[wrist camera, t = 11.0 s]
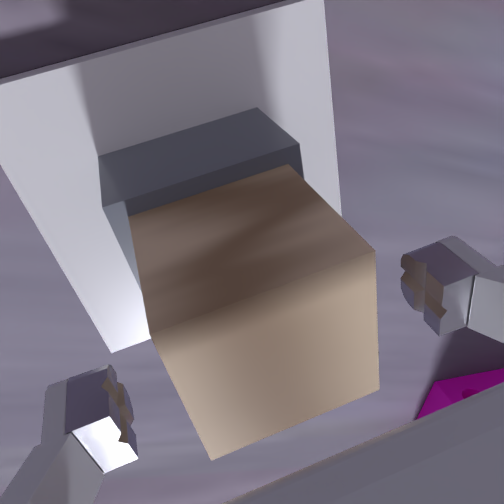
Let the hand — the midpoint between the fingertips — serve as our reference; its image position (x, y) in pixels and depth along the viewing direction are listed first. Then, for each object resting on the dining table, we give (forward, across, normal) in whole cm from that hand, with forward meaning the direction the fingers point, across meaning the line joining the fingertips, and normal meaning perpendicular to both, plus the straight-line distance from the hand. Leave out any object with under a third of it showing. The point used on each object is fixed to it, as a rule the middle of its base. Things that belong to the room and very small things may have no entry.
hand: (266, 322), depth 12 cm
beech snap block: (+4, 0, 0) cm, 4 cm away
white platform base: (+8, 0, 0) cm, 9 cm away
